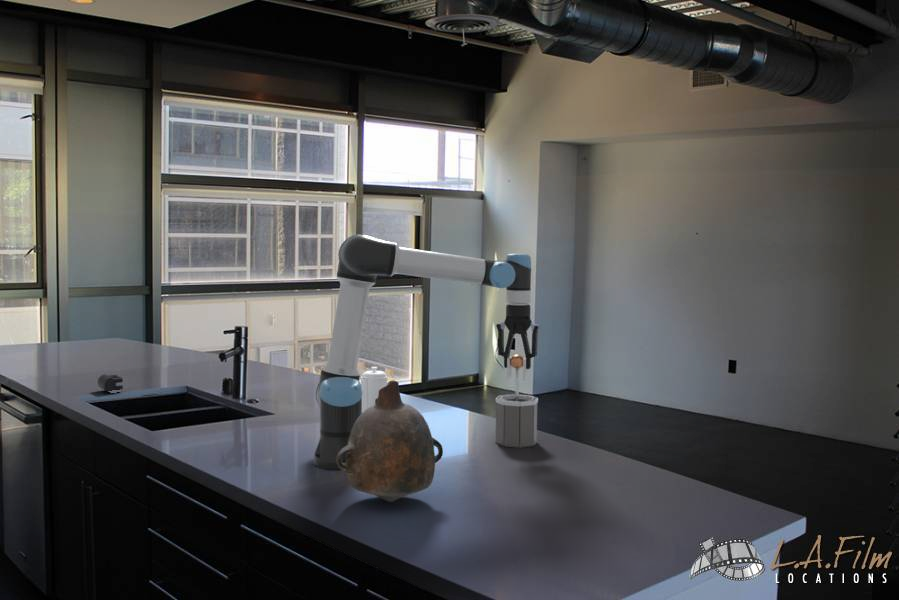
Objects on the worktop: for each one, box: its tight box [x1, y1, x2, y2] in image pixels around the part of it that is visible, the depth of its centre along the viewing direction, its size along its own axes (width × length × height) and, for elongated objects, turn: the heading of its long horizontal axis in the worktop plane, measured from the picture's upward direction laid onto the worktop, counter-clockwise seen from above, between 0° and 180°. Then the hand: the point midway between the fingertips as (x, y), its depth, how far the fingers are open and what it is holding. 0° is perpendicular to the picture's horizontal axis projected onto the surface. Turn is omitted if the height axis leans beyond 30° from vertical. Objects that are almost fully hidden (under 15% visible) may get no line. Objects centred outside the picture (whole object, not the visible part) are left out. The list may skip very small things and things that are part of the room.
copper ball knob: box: [510, 354, 525, 401], centre depth 257 cm, size 8×8×21 cm
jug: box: [336, 379, 444, 503], centre depth 198 cm, size 24×21×30 cm
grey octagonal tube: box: [495, 393, 539, 449], centre depth 259 cm, size 16×12×14 cm
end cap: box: [97, 374, 124, 392], centre depth 335 cm, size 10×7×7 cm
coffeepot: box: [360, 366, 389, 412], centre depth 286 cm, size 11×25×19 cm, turn 168°
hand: (517, 378), depth 256 cm, fingers closed on copper ball knob, 4 cm apart
